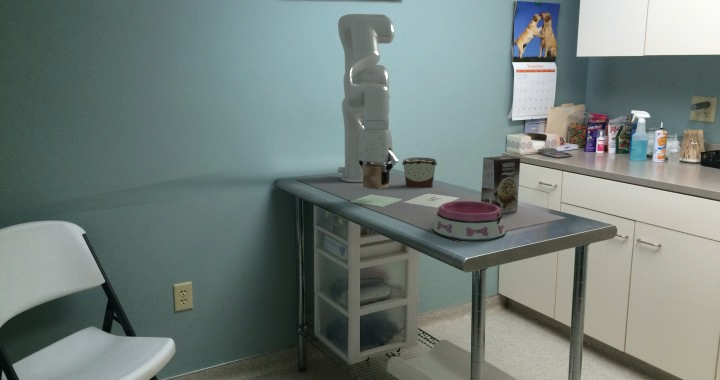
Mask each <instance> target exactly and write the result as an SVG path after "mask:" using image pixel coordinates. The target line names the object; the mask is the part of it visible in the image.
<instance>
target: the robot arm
mask: <svg viewBox="0 0 720 380" xmlns="http://www.w3.org/2000/svg"><path fill="white" fill-rule="evenodd" d="M337 31H338V36H339V41H340V43H341V45H342V50H343V53H344V75H343V92H344V93H343V94H344V98H343V100H342V103H341V112H342V117H343V118H342V119H343V127H344V129H343V130H344V131H343V132H344V166H339V167H338V168H337V173H342V175H341V176H340V180H341V181H342V182H346V183H363V165H366V164H371V163H381V165H382V169H383V172H382V185H385V184H388V183H389V184H390V172H391V171H392V169H393V168H394V167H395V165H397V164H398V162H399V159H398V158H397V157H396V155H395V154H394V150H393V139H392V138H393V137H392V134H391V133H392V132H391V130H390V128H389V118H390V117H389V114H390V97H391V96H390V77H389V71H388V68H386V67H385V65H382V64H378V63H379V62H380V59H381V54H380V48H379V44H384V45H385V44H391V43H393V40H394V37H395V27H394V24H393V21H392V19H391V18H390V17H388V16H387V15H385V14H383V13H382V14H381V13H380V14H379V13H373V14H372V13H351V14H350V13H348V14H344V15H342V16H340V17H339V19H338V23H337Z"/></svg>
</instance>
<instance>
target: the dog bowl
mask: <svg viewBox="0 0 720 380" xmlns="http://www.w3.org/2000/svg"><path fill="white" fill-rule="evenodd" d="M438 208H439V209H438V211H437V214H436V219H435V222H434V225H433V228H432V232H433V233H434V234H435V235H436V236H439V237H442V238H445V239H447V240H453V241H454V240H455V241H460V242H471V243H472V242H477V243H479V242H489V241H491V242H492V241H496V240H500V239H502V238H504V237H505V236H506V231H505V226H504V221H503V214H502V213H501V210H500V208H499V207H498V206H496V205H493V204H490V203H484V202H481V201H476V200H475V201H473V200H472V201H471V200H454V201H452V202H448V203H444V204H442V205H441V206H439V207H438Z"/></svg>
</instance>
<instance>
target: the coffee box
mask: <svg viewBox="0 0 720 380" xmlns="http://www.w3.org/2000/svg"><path fill="white" fill-rule="evenodd" d="M520 171H521V158H520V157H517V156H509V155H500V156H489V157H487V156H485V157H483V160H482V176H481V190H480V191H481V194H480V195H481V196H480V202H484V203H490V204H493V205H496V206H498V207H499V208H500V210H501V213H502V215H504V214H512V213H517V212H518V207H519V206H518V205H519V204H518V203H519V202H518V201H519V190H520V188H519V186H520V174H521V172H520Z"/></svg>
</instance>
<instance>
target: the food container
mask: <svg viewBox="0 0 720 380" xmlns="http://www.w3.org/2000/svg"><path fill="white" fill-rule="evenodd" d="M401 166H403V172H404V184H405V187H406V188H433V186H434V178H435V171H436V166H438V162H437V160H436V158H431V157H424V156H423V157H406V158H403V160H402V163H401Z"/></svg>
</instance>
